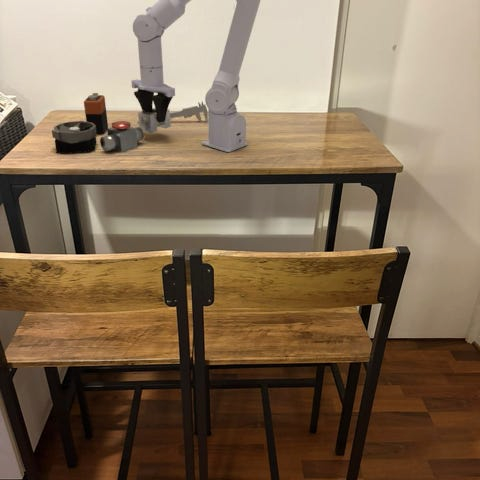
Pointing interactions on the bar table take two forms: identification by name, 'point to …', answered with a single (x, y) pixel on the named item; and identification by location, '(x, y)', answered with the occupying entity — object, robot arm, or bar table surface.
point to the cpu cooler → (75, 137)
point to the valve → (121, 137)
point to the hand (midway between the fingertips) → (154, 119)
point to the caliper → (191, 112)
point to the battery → (96, 112)
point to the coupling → (152, 121)
